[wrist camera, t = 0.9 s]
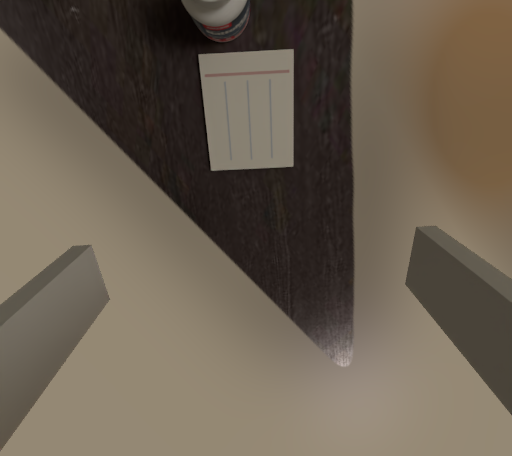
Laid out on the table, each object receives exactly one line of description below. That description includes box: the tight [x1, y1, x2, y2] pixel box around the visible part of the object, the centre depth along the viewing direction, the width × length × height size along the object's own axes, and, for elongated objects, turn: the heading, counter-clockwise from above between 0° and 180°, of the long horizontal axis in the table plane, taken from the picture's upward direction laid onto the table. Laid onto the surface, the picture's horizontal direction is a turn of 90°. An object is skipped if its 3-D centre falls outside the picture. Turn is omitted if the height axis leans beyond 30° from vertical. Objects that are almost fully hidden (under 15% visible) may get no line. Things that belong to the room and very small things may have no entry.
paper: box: [198, 49, 294, 171], centre depth 29 cm, size 11×9×1 cm
